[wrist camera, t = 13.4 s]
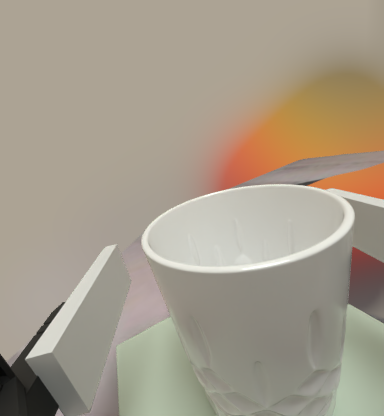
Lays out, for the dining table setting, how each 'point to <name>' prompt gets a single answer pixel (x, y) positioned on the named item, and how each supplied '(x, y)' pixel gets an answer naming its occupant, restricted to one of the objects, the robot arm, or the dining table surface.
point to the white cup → (258, 294)
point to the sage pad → (193, 391)
